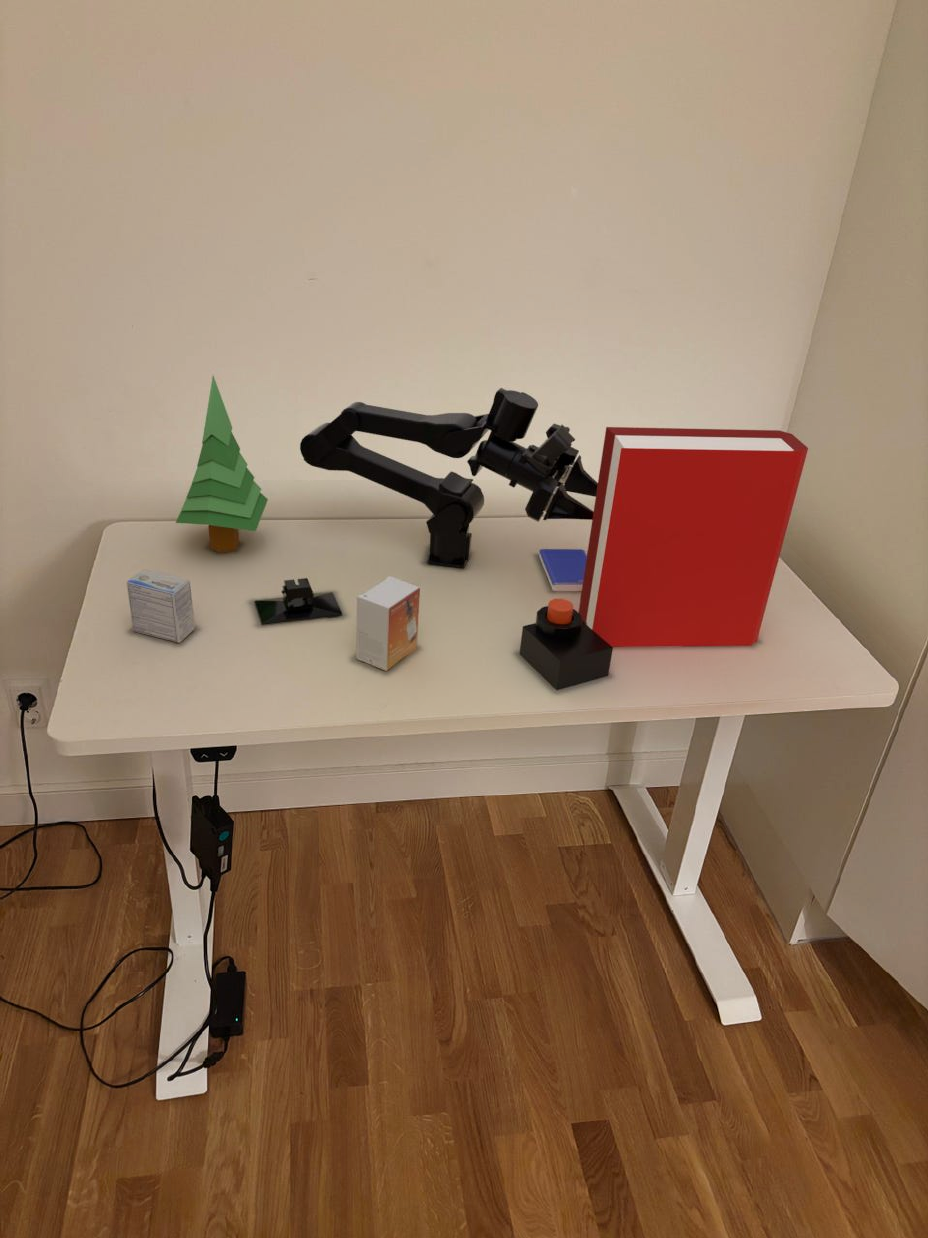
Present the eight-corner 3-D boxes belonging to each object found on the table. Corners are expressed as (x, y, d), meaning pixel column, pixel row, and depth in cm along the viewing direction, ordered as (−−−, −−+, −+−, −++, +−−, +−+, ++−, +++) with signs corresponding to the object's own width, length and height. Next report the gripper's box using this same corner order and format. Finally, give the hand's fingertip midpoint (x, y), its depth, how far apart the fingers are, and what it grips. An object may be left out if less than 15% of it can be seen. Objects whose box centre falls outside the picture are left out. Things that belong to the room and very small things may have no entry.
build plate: (332, 594, 155) (332, 568, 152) (343, 617, 149) (343, 591, 147) (254, 602, 151) (253, 576, 148) (261, 626, 145) (261, 599, 143)
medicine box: (196, 630, 143) (191, 578, 139) (179, 644, 139) (173, 592, 135) (150, 618, 145) (144, 567, 140) (132, 632, 141) (125, 580, 137)
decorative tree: (223, 520, 175) (212, 355, 159) (285, 547, 167) (280, 377, 152) (162, 545, 165) (144, 372, 149) (226, 575, 158) (214, 396, 142)
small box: (386, 672, 137) (388, 609, 131) (354, 659, 139) (355, 596, 134) (418, 648, 143) (421, 586, 137) (387, 635, 145) (389, 574, 140)
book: (589, 647, 146) (621, 447, 130) (577, 620, 153) (606, 426, 136) (759, 645, 150) (811, 451, 134) (740, 618, 157) (788, 430, 140)
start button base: (516, 652, 144) (521, 611, 140) (566, 639, 148) (572, 599, 144) (556, 690, 136) (562, 649, 132) (608, 676, 140) (615, 635, 136)
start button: (542, 615, 140) (543, 601, 139) (562, 610, 142) (564, 596, 141) (555, 627, 138) (557, 613, 137) (576, 622, 139) (578, 608, 138)
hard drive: (601, 583, 161) (584, 548, 171) (553, 583, 159) (539, 548, 170) (600, 591, 161) (583, 556, 172) (552, 591, 160) (538, 556, 171)
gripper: (516, 437, 143) (611, 484, 142) (547, 401, 158) (632, 443, 157) (489, 499, 149) (580, 544, 148) (521, 458, 165) (603, 499, 164)
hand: (600, 505), depth 154 cm, fingers open, 9 cm apart
